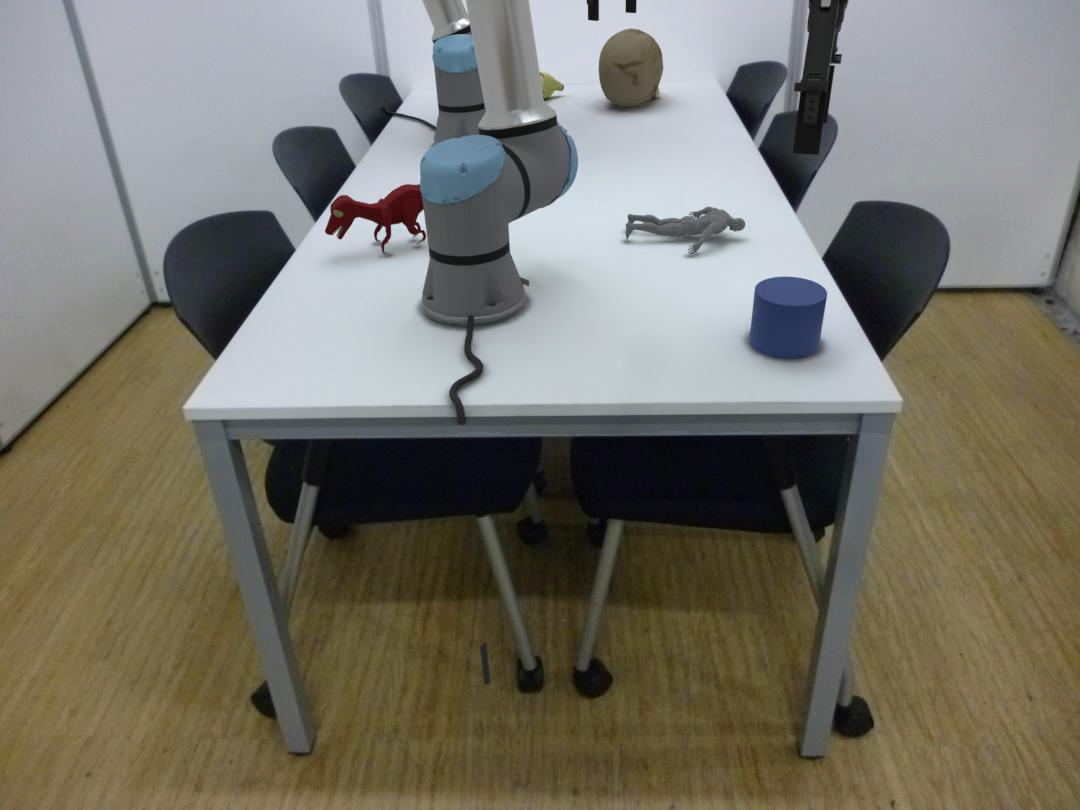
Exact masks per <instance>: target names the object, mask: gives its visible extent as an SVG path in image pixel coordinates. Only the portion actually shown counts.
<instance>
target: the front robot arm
mask: <svg viewBox="0 0 1080 810" xmlns="http://www.w3.org/2000/svg"><path fill="white" fill-rule="evenodd" d="M465 4H466V10H467V11H466V12H467V14H468V16H469V22H470V27H471V33H472V38H473V44H474V49H475V55H476V60H477V66H478V71H479V77H480V82H481V88H482V93H483V99H484V104H485V110H486V111H485V114H484V116H483V118H482V119H481V121H480V122H479V124H478V129H479V135H466V136H462V137H460V138H451V139H448V140H445V141H443V142H440V143H438V144H436V145H434V144H433V146H431V147H430V148H429V149H427V150H426V151H425V153H424V154H423V155H422V156H421V157H422V158H421V159H420V162H419V163H420V164H419V172H420V173H419V174H420V179H419V182H420V183H419V184H420V190H421V193H422V200H423V208H424V209H423V216H424V222H425V232H426V239H427V246H428V254H429V261H428V265H427V269H426V274H425V280H424V284H423V289H422V293H421V294H422V296H421V302H422V310H423V312H424V314H425V315H426V316H427V317H428V318H429V319H431V320H432V321H435V322H437V323H440V324H443V325H448V326H453V327H466V332H465V339H464V345H463V351H464V355H465V357H466V358H467V360H469V362H471V363H472V364H473V365H474V366H475V369H474V370H472V371H471V372H470V373H468V374H466V375H464V376H462V377H460V378H458V379H456V380H455V382H453V383H452V385H451V386H450V388H449V393H448V396H449V398H450V400H451V402H452V403H453V405H454V407H455V411H456V418H457V424H458V425H459V426H465V425H466V421H467V420H466V419H467V418H466V413H465V412H466V411H465V408H464V405H463V402H462V400H461V398H460V397H459V395H458V391H459V389H460V388H462V387H463V386H464V385H466V384H468V383H470V382H472V381H474V380H475V379H477V378H479V376H481V374H482V373H483V371H484V364H483V362H482V360H481V359H480V358H479V357H478V356H477V355H475V354H474V353H473V351H472V342H473V337H474V327H480V326H481V327H483V326H487V325H492V324H496V323H499V322H504V321H505V320H508V319H510V318H512V317H514V316H516V315H517V314H518V313H519V312H520V311H522V310H523V309H524V307H525V305H526V290H525V287H524V286H527V287H530V279H527V278H524V277H521V275H520V273H519V270H518V268H517V266H516V263H515V261H514V259H513V255H512V252H511V244H510V228H509V226H510V225H509V224H511V223H512V222H514V221H516V220H519V219H521V218H523V217H525V216H527V215H529V214H531V213H533V212H535V211H537V210H539V209H543V208H545V207H548V206H550V205H552V204H553V203H555V202H556V201H557V200H558V199H560V198H561V197H562V196H564V195H565V194H566V193H567V192H568V191H570V189H571V187H572V186H573V184H574V182H575V180H576V178H577V173H578V168H579V155H578V150H577V146H576V143H575V141H574V138H573V137H572V135H570V134H568V133H567V132H568V130H567V129H566V128H565V127H564V126H563V125H561V124H559V123H558V117H557V115H558V114H557V111H556V110H555V109H554V108H552V107H551V106H550V105H549V104H547V102H546V101H545V99H544V98H543V92H542V85H541V79H540V72H541V71H540V68H539V66H540V65H539V59H538V53H537V46H536V40H535V34H534V33H535V32H534V25H533V20H532V14H531V13H532V12H531V6H530V0H465ZM848 4H849V0H808V10H809V11H808V16H807V24H806V30H807V33H808V35H807V36H808V37H807V43H806V51H805V56H804V62H803V63H804V64H803V69H802V77H801V80H800V81H799V82H794V88H793V92H794V93H800V94H799V100H798V108H797V115H796V124H795V133H794V140H793V149H792V154H797V155H798V154H799V155H814V156H815V155H816V156H818V155H819V154H820V148H821V142H822V134H823V127H824V124H827V123H828V118H829V117H828V116H829V109H830V103H831V95H832V89H833V82H834V74H835V68H836V65H841V63H842V57H843V54H842V53H838V50H839V49H838V40H839V33H840V31H841V30H842V25H843V22H844V20H845V14H846V10H847V8H848ZM487 646H488V645H487V641H485V642H484V643H482V644H481V645H480V646H479V648H480V659H481V660H480V661H481V668H482V677H483V683H484V685H485V686H488V685H490V684H491V673H490V664H489V656H488V655H489V654H488V647H487Z"/></svg>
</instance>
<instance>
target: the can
mask: <svg viewBox="0 0 1080 810" xmlns="http://www.w3.org/2000/svg"><path fill="white" fill-rule="evenodd" d="M753 292H754V293H753V300H752V312H751V320H750V330H749V338H748V340H749V344H750V346H751V347H752V348H753V349H754V350H756V351H757V352H759V353H761V354H763V355H765V356H768V357H772V358H778V359H785V360H786V359H787V360H788V359H789V360H794V359H801V358H805V357H809V356H812V355H813V354H815V353H816V352H818V350H819V348H820V342H821V336H822V330H823V323H824V319H825V311H826V305H827V299H828V291H827V289H826V288H825V287H824V286H823V285H821V284H820V283H818V282H816V281H814V280H811V279H807V278H803V277H796V276H774V277H769V278H765V279H762V280H761V281H759V282H758V283H756V285H755V287H754V291H753Z"/></svg>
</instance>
